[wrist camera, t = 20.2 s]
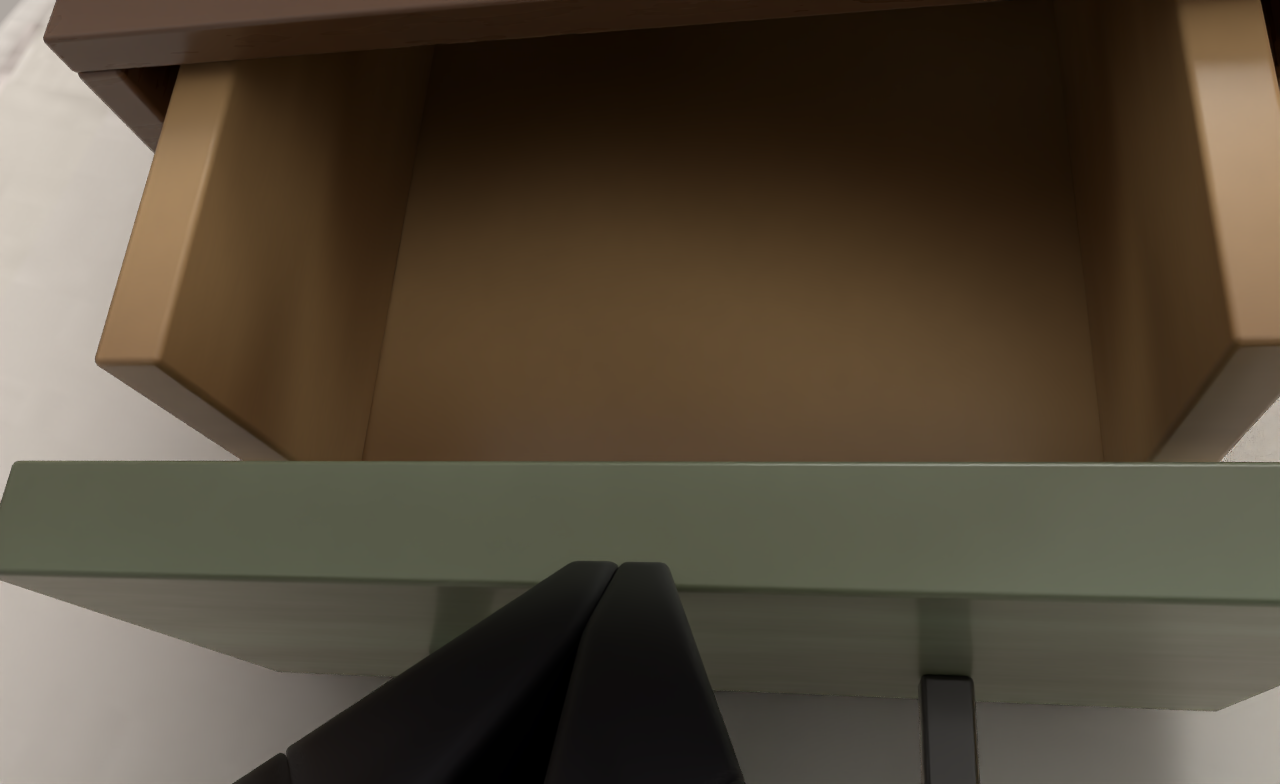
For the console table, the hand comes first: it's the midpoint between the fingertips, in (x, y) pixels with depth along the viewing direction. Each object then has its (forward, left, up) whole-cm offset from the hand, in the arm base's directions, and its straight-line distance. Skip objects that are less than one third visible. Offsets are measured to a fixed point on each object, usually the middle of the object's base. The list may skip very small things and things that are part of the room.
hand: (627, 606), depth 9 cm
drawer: (+4, +3, -6) cm, 8 cm away
